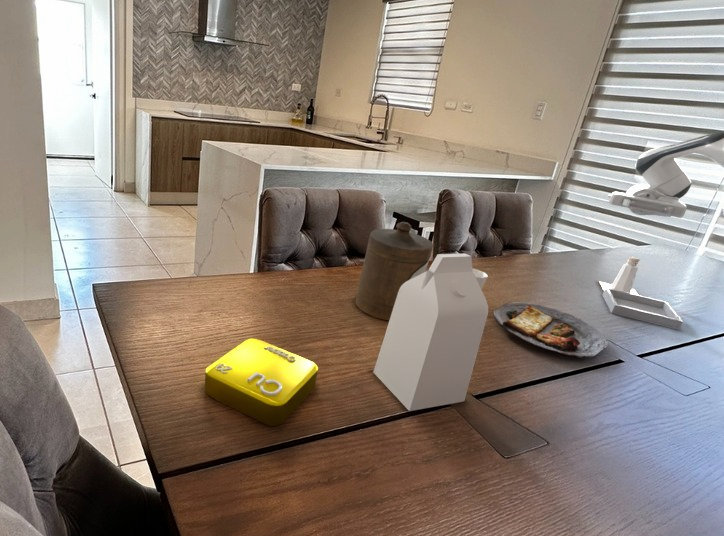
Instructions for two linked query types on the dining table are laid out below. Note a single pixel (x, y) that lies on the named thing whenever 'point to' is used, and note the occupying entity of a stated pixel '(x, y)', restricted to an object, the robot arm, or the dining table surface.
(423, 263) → the wooden container
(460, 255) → the milk
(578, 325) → the food plate
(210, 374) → the element tile
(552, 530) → the dining table surface
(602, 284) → the coaster
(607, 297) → the tray
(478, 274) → the cup
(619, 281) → the pepper shaker
